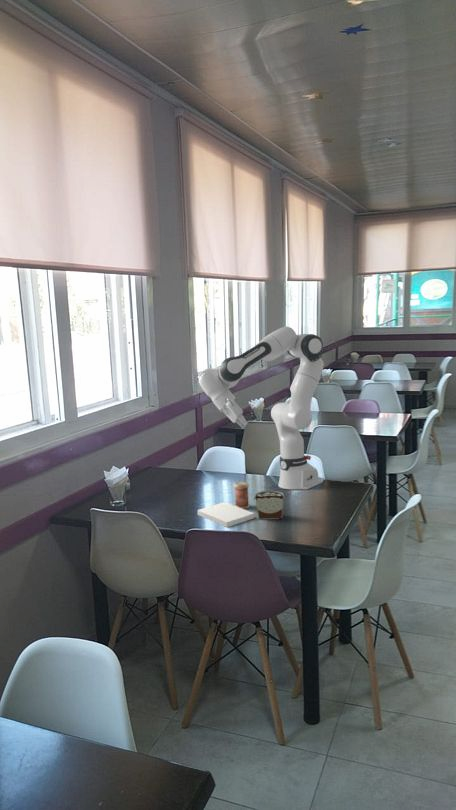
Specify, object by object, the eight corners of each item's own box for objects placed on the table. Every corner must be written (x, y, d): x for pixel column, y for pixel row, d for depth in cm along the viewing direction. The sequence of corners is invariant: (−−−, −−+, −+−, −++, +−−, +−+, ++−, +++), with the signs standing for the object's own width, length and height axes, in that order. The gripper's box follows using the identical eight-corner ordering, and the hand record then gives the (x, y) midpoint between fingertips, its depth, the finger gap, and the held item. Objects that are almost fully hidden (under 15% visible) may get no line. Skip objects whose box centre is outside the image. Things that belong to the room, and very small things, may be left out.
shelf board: (224, 506, 244) (224, 502, 244) (254, 518, 228) (254, 513, 228) (197, 514, 236) (197, 510, 236) (226, 527, 220) (226, 522, 220)
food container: (286, 513, 232) (285, 489, 230) (286, 518, 226) (285, 494, 224) (255, 513, 233) (254, 490, 232) (255, 519, 227) (253, 495, 226)
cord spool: (243, 503, 247) (242, 481, 245) (252, 506, 242) (251, 484, 240) (232, 507, 243) (230, 484, 241) (241, 510, 238) (240, 487, 237)
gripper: (232, 392, 237) (253, 418, 236) (229, 401, 257) (249, 425, 256) (220, 401, 236) (241, 427, 235) (218, 409, 256) (238, 433, 255)
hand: (245, 426), depth 245 cm, fingers open, 8 cm apart
